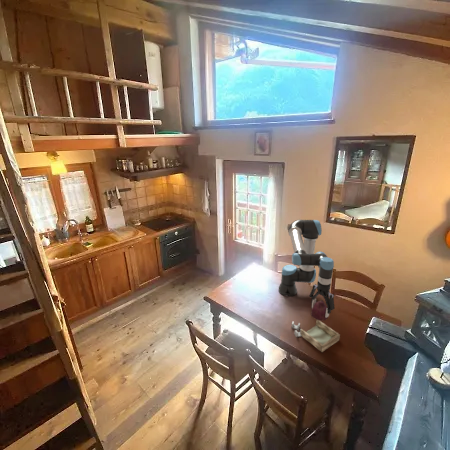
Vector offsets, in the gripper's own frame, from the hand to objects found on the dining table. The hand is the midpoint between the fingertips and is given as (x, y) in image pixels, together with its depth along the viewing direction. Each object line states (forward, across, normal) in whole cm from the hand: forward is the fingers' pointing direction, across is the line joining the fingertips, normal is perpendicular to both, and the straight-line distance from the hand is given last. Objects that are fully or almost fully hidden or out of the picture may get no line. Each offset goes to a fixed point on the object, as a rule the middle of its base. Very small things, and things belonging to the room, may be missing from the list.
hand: (320, 312), depth 159 cm
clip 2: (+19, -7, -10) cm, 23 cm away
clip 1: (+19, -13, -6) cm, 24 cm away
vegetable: (+3, 0, 0) cm, 3 cm away
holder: (+19, +2, 0) cm, 19 cm away
